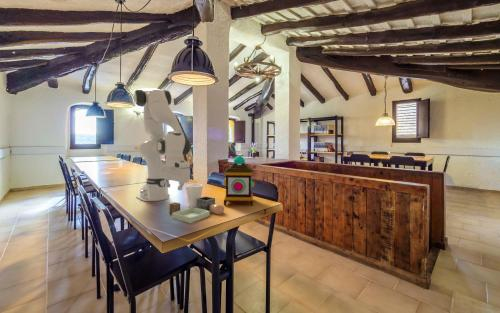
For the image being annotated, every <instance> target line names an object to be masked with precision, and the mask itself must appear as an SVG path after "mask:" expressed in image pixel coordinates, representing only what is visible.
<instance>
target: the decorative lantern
mask: <svg viewBox="0 0 500 313" xmlns="http://www.w3.org/2000/svg"><path fill="white" fill-rule="evenodd" d="M253 170H254V169H253V168H252V167H251V166H249V165H247V163H246V162H245V158H244V157H243V156H242V155H237V156H236V157H234V160H233V164H231V165H230V166H228V167H227V168H226V169H225V171H224V172H223V174H224V175H225V178H224V180H223V186H225V196H224V198H223V205H224V206H225V207H226V206H227V203H228V202H229V203H231V202H236V203H237V202H238V203H240V202H241V203H242V202H243V203H246V202H247V203H249V205H250V207H253V204H254V203H253V202H254V199H253V198H254V194H253V192H252V188H254V187H255V186H256V183H255V181H254V180H252V175H253Z"/></svg>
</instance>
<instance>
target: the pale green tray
mask: <svg viewBox="0 0 500 313" xmlns="http://www.w3.org/2000/svg"><path fill="white" fill-rule="evenodd" d="M210 214H211V213H210V211H207V210H202V209H198V208H197V207H195V208H194V207H188V208H185V209H180V211H177V212H174V213H172V214H171V218H172V219H174V220H178V221H182V222H185V223H189V224H193V223H195V222H198V221H199V220H203V219H205V218H207V217H208V218H209V217H210Z"/></svg>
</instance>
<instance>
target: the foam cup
mask: <svg viewBox="0 0 500 313" xmlns="http://www.w3.org/2000/svg"><path fill="white" fill-rule="evenodd" d="M185 188H186V189H185V190H186V195H187V203H188V208H190V207H194V208H197V199H198V198H202V194H203V184H202V183H190V184H186V186H185Z"/></svg>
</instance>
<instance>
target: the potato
mask: <svg viewBox="0 0 500 313" xmlns="http://www.w3.org/2000/svg"><path fill="white" fill-rule="evenodd" d="M209 210H210V214H215V215H217V216H218V215H221V214H224V211H225V207H224V206H223V205H220V204H216V203H215V204H212V205H211V206H210V209H209Z"/></svg>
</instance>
